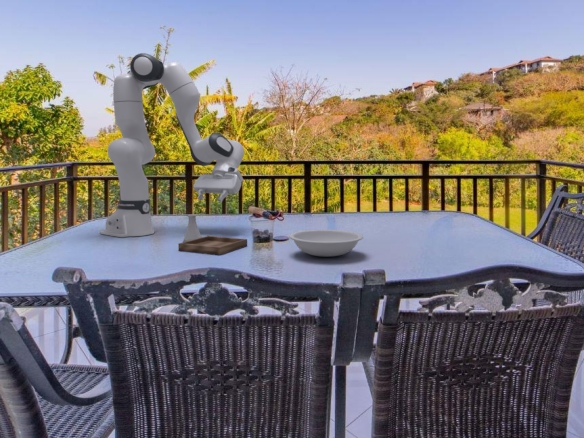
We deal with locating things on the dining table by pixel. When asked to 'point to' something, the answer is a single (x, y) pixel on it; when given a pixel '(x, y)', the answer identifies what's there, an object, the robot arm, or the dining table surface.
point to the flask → (192, 229)
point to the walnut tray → (212, 245)
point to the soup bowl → (325, 241)
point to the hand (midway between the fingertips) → (209, 199)
